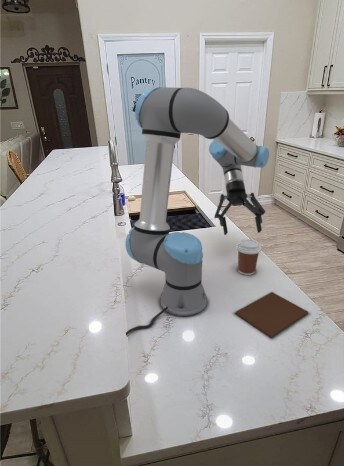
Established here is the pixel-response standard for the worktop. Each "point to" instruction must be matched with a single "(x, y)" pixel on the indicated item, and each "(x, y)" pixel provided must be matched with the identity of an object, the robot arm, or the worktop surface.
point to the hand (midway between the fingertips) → (242, 232)
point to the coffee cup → (248, 256)
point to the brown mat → (271, 314)
